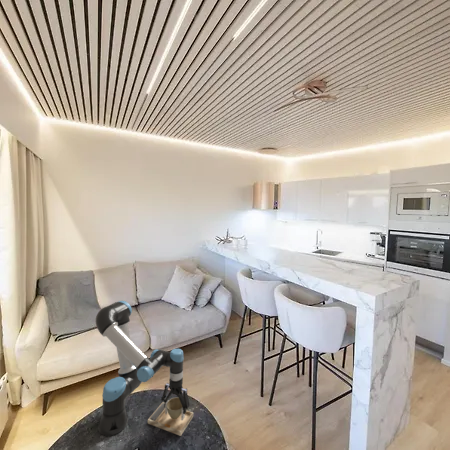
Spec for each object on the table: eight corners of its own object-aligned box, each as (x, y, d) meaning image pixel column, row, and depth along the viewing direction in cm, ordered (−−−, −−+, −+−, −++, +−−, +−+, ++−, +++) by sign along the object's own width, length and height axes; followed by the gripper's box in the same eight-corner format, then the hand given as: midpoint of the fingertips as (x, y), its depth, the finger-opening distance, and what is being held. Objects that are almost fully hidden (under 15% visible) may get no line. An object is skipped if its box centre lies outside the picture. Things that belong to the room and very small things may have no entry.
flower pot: (163, 421, 137) (163, 408, 137) (170, 407, 147) (171, 396, 147) (179, 424, 135) (180, 411, 135) (186, 410, 145) (186, 399, 145)
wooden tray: (147, 423, 139) (147, 418, 138) (162, 405, 152) (162, 401, 152) (180, 436, 131) (180, 431, 131) (193, 416, 145) (193, 411, 145)
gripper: (155, 376, 141) (154, 414, 141) (190, 386, 133) (189, 427, 133) (163, 369, 148) (162, 405, 148) (196, 378, 140) (195, 416, 140)
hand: (174, 415), depth 141 cm, fingers closed on flower pot, 10 cm apart
